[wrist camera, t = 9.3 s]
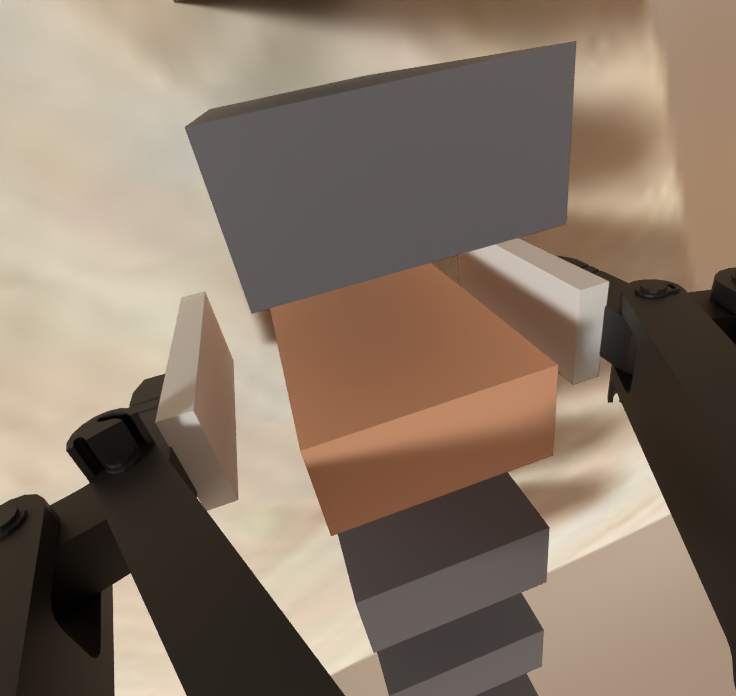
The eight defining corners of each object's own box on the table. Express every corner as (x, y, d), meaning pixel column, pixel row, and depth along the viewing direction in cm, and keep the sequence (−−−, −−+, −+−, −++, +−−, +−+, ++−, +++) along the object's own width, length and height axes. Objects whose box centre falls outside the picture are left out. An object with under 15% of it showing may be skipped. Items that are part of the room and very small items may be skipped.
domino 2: (260, 265, 16) (300, 450, 8) (391, 230, 17) (558, 364, 8) (279, 323, 17) (331, 536, 9) (399, 288, 18) (553, 454, 10)
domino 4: (324, 459, 21) (389, 696, 13) (421, 426, 22) (543, 629, 14) (334, 493, 23) (400, 728, 14) (426, 460, 23) (541, 666, 15)
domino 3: (296, 375, 19) (355, 603, 10) (408, 341, 19) (549, 527, 11) (310, 419, 20) (373, 653, 12) (414, 385, 21) (546, 582, 12)
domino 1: (209, 109, 13) (184, 127, 5) (367, 75, 14) (576, 40, 6) (235, 190, 15) (251, 313, 6) (379, 155, 15) (566, 224, 7)
